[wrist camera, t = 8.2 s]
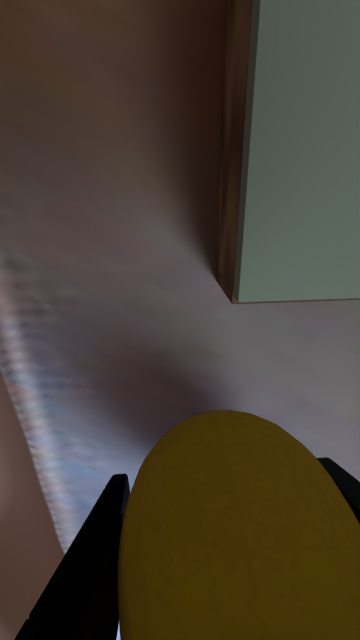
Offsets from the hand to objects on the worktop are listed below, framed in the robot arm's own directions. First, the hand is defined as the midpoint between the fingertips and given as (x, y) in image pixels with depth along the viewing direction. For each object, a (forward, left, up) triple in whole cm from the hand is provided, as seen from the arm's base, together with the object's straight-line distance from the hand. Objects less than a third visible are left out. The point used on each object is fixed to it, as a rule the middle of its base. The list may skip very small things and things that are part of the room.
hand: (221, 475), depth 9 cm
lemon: (0, 0, -2) cm, 2 cm away
